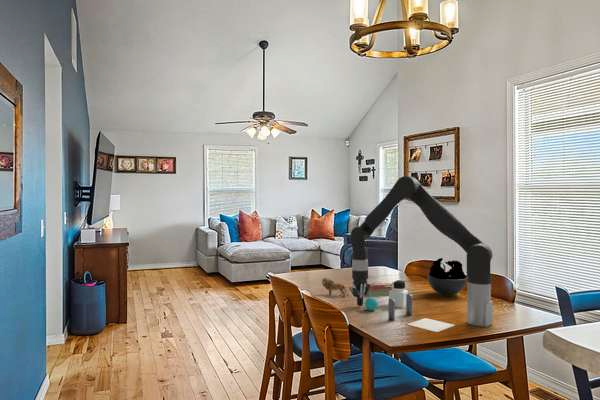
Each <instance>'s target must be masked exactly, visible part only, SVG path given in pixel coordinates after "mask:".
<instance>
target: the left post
mask: <svg viewBox="0 0 600 400" xmlns="http://www.w3.org/2000/svg"><path fill="white" fill-rule="evenodd" d="M395 312H396V307H395V299H389V298H388V317H387V318H388V319H387V320H388V321H389V322H395V318H396V317H395V316H396V315H395Z"/></svg>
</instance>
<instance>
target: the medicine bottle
mask: <svg viewBox="0 0 600 400" xmlns="http://www.w3.org/2000/svg"><path fill="white" fill-rule="evenodd" d="M391 284H392V289H393V290H391V291H389V295H388V300H389V299H395V308H399V309H403V308H406V294H409V290H407V289H406V282H405V280H401V279H397V280H396V279H395V280H392V282H391Z"/></svg>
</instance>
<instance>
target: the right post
mask: <svg viewBox="0 0 600 400" xmlns="http://www.w3.org/2000/svg"><path fill="white" fill-rule="evenodd" d="M405 315H406V316H410V317H411V316H413V294H410V293H408V294H406V306H405Z"/></svg>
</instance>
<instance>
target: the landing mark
mask: <svg viewBox="0 0 600 400" xmlns="http://www.w3.org/2000/svg"><path fill="white" fill-rule="evenodd" d="M406 325H407V326H411V327H415V328H418V329H422V330H426V331H431V332H434V333H439V332H441V331H445V330H447V329H450V328H453V327H455V326H456V324H452V323H449V322H445V321H439V320H436V319H431V318H427V317H423V318H422V319H418V320H415V321H412V322H409V323H407V324H406Z"/></svg>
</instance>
